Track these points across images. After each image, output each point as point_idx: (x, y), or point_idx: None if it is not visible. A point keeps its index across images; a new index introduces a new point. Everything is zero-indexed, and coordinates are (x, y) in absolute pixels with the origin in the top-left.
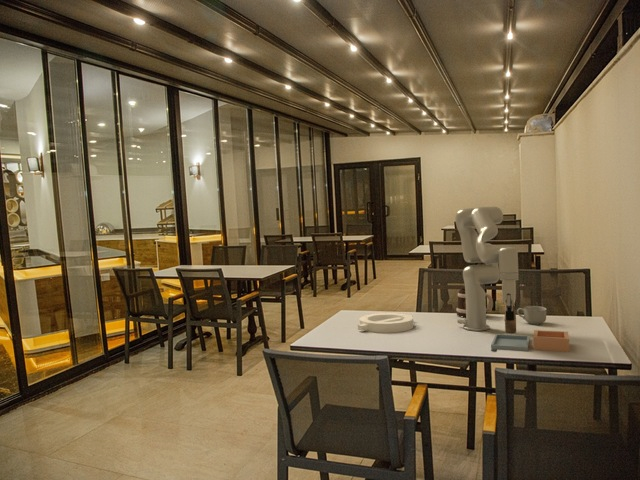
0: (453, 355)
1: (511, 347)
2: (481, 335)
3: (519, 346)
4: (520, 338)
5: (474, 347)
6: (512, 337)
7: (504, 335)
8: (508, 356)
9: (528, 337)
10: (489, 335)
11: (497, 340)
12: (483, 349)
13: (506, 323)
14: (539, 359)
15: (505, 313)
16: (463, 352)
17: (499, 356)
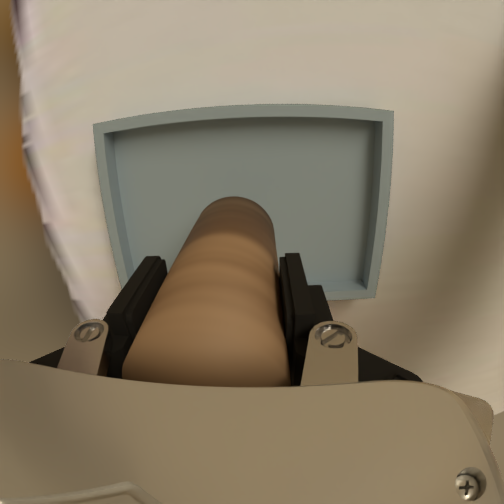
0: (15, 17)
1: (111, 228)
2: (449, 42)
3: (121, 267)
4: (367, 250)
5: (153, 24)
6: (373, 209)
7: (380, 165)
8: (60, 215)
9: (339, 297)
10: (460, 83)
11: (307, 123)
12: (126, 77)
13: (188, 238)
14: (82, 319)
15: (168, 283)
16: (55, 23)
17: (45, 181)
